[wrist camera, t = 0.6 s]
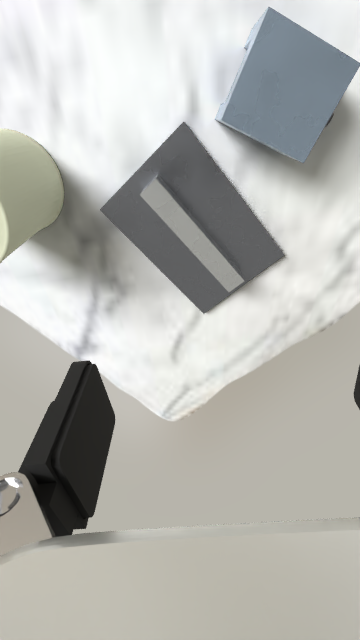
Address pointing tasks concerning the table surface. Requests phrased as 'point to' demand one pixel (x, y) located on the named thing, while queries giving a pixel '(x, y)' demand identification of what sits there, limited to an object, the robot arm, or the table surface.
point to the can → (26, 190)
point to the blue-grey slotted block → (286, 86)
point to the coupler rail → (207, 210)
